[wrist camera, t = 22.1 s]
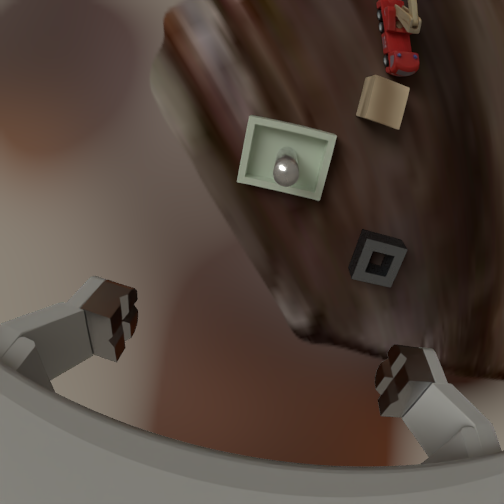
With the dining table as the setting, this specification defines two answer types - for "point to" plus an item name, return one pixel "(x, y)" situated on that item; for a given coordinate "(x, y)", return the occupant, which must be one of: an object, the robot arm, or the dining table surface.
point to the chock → (383, 101)
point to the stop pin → (286, 167)
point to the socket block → (372, 272)
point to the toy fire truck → (399, 35)
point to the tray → (276, 137)
